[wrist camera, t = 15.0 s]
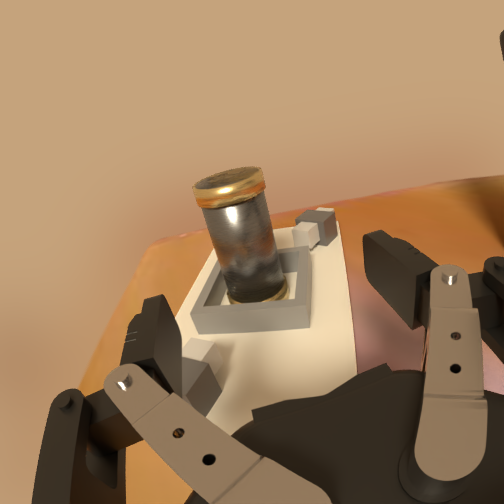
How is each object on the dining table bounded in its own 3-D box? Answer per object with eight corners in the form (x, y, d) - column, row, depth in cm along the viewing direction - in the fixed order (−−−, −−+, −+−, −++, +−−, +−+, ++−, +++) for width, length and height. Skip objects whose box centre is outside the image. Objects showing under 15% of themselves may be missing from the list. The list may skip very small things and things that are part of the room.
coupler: (291, 278, 27) (266, 162, 23) (286, 315, 23) (255, 181, 18) (237, 284, 28) (204, 175, 24) (224, 319, 24) (181, 195, 20)
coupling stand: (339, 228, 35) (334, 199, 34) (359, 450, 13) (361, 415, 12) (222, 244, 39) (214, 217, 37) (125, 435, 17) (96, 402, 15)
